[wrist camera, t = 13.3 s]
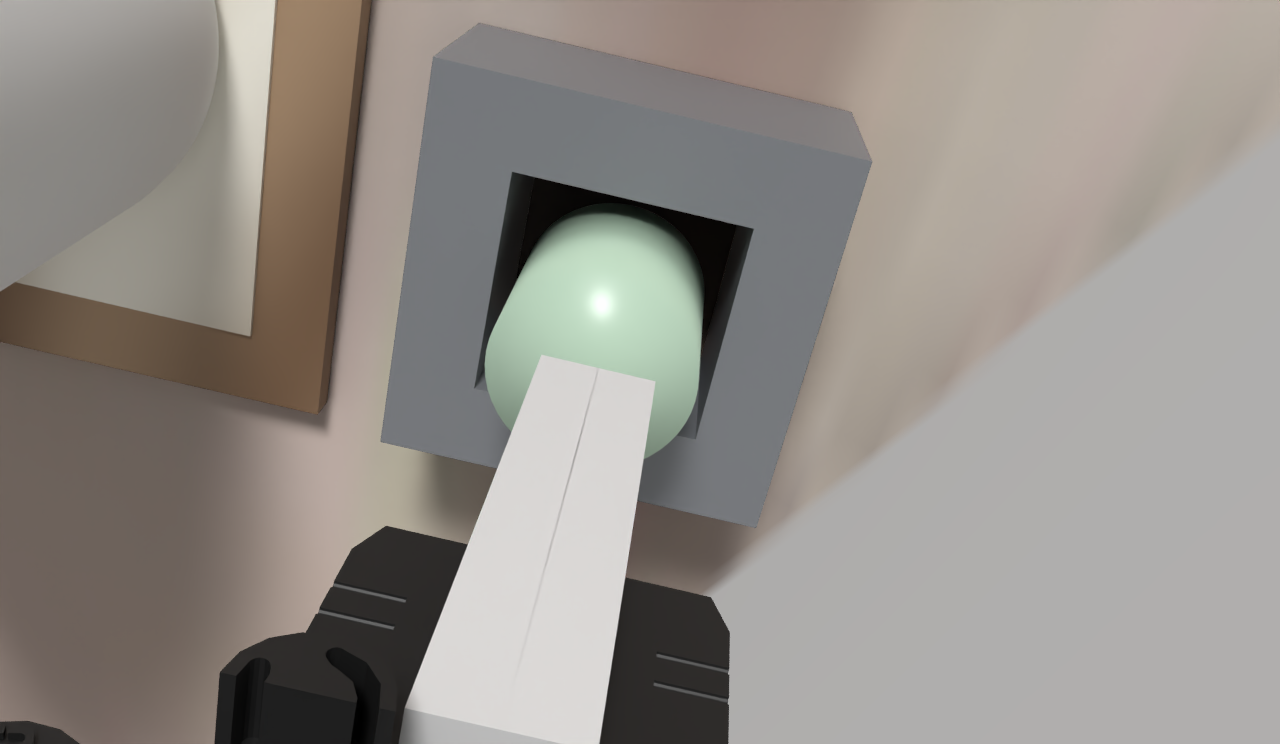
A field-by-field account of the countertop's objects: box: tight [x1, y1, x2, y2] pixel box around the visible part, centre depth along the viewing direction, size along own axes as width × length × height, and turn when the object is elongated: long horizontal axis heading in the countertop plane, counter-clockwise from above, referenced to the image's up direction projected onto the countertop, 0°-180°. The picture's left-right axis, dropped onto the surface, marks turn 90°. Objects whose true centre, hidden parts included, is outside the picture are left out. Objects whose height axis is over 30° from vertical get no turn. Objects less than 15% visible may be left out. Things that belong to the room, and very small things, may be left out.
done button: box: [485, 203, 705, 459], centre depth 18 cm, size 3×3×4 cm
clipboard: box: [0, 0, 371, 415], centre depth 21 cm, size 12×14×1 cm
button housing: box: [381, 23, 872, 528], centre depth 21 cm, size 7×7×4 cm
